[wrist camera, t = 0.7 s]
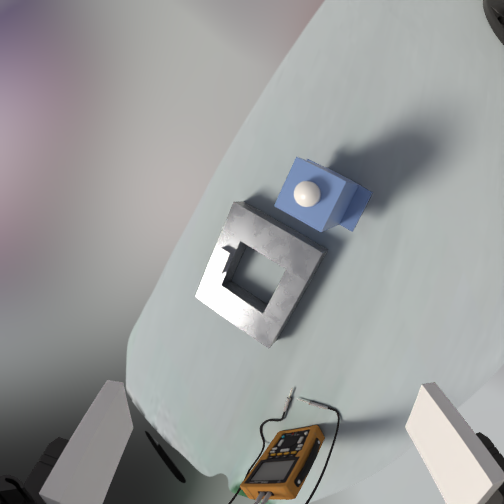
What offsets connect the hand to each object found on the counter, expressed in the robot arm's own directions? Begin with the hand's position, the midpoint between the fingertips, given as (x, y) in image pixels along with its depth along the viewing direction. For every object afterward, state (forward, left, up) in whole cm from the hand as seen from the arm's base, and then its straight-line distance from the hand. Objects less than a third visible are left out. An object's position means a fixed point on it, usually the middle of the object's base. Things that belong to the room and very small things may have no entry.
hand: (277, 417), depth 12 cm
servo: (-7, -7, -26) cm, 27 cm away
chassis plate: (+6, -11, -26) cm, 29 cm away
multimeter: (+23, +3, -26) cm, 35 cm away
